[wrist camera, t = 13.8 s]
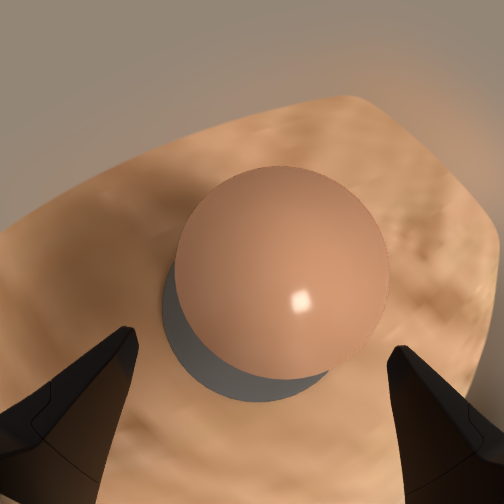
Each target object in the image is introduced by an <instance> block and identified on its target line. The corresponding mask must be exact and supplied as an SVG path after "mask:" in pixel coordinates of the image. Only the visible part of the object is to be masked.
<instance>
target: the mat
mask: <svg viewBox="0 0 504 504" xmlns="http://www.w3.org/2000/svg"><path fill="white" fill-rule="evenodd" d="M162 315H163V323H164V328H165V332H166V335H167V339H168V341H169V343H170V346H171V348H172V350H173V352H174V354H175V355H176V357H177V359H178V360H179V362H180V363H181V364H182V366H183V367H184V368H185V369H186V371H187V372H188V373H189V374H190V375H191V376H193V377H194V378H195V379H196V380H197V381H198V382H200V383H201V384H202V385H204V386H205V387H207V388H208V389H210V390H212V391H214V392H216V393H218V394H220V395H223V396H226V397H228V398H231V399H236V400H240V401H247V402H270V401H275V400H280V399H284V398H287V397H290V396H293V395H296V394H298V393H300V392H302V391H304V390H306V389H307V388H309V387H310V386H312V385H313V384H315V383H316V382H317V381H319V380H320V379H321V378H322V377H323V376H324V375H325V374H326V373H327V372H328V371H329V370H328V371H325V372H323V373H320V374H318V375H314V376H310V377H305V378H299V379H288V380H285V379H270V378H265V377H259V376H255V375H252V374H249V373H247V372H244V371H241V370H239V369H237V368H235V367H233V366H231V365H229V364H228V363H226V362H225V361H223V360H222V359H220V358H219V357H218V356H216V355H215V354H214V353H213V352H212V351H211V350H210V349H208V348H207V347H206V346H205V345H204V344H203V343H202V341H201V340H200V339H199V338H198V336H197V335H196V334H195V333H194V331H193V329H192V328H191V326H190V324H189V323H188V321H187V319H186V317H185V315H184V312H183V310H182V308H181V305H180V302H179V298H178V294H177V290H176V282H175V261H174V263H173V265H172V267H171V269H170V272H169V274H168V276H167V280H166V283H165V287H164V293H163V300H162Z"/></svg>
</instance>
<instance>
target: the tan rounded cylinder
mask: <svg viewBox="0 0 504 504" xmlns="http://www.w3.org/2000/svg"><path fill="white" fill-rule="evenodd" d="M175 282H176V290H177V294H178V298H179V302H180V305H181V308H182V310H183V312H184V315H185V317H186V319H187V321H188V323H189V324H190V326H191V328H192V329H193V331H194V333H195V334H196V335H197V336H198V338H199V339H200V340H201V341H202V343H203V344H204V345H205V346H206V347H207V348H208V349H210V350H211V351H212V352H213V353H214V354H215V355H216V356H218V357H219V358H220V359H222V360H223V361H225V362H226V363H228V364H229V365H231V366H233V367H235V368H237V369H239V370H241V371H244V372H247V373H249V374H252V375H255V376H259V377H265V378H270V379H285V380H288V379H299V378H305V377H310V376H314V375H318V374H320V373H323V372H325V371H328V370H330V369H332V368H334V367H336V366H338V365H339V364H341V363H343V362H344V361H346V360H347V359H348V358H350V357H351V356H352V355H353V354H355V353H356V352H357V351H358V350H359V349H360V348H361V347H362V346H363V345H364V344H365V343H366V341H367V340H368V339H369V337H370V336H371V334H372V333H373V332H374V330H375V328H376V326H377V325H378V323H379V321H380V319H381V316H382V314H383V311H384V309H385V306H386V302H387V298H388V293H389V285H390V265H389V258H388V252H387V249H386V245H385V241H384V239H383V236H382V234H381V231H380V229H379V227H378V225H377V223H376V222H375V220H374V218H373V217H372V215H371V214H370V212H369V211H368V210H367V208H366V207H365V206H364V205H363V204H362V203H361V201H360V200H359V199H358V198H357V197H356V196H355V195H353V194H352V193H351V192H350V191H349V190H347V189H346V188H345V187H343V186H342V185H340V184H339V183H337V182H336V181H334V180H332V179H330V178H328V177H326V176H324V175H321V174H319V173H316V172H313V171H310V170H306V169H302V168H296V167H287V166H272V167H264V168H258V169H254V170H250V171H247V172H244V173H241V174H239V175H236V176H234V177H232V178H230V179H228V180H227V181H225V182H223V183H222V184H220V185H219V186H217V187H216V188H215V189H213V190H212V191H211V192H210V193H209V194H208V195H207V196H206V197H204V198H203V199H202V201H201V202H200V203H199V204H198V205H197V207H196V208H195V209H194V211H193V212H192V214H191V215H190V217H189V219H188V220H187V222H186V224H185V226H184V229H183V231H182V233H181V236H180V239H179V243H178V246H177V251H176V258H175Z"/></svg>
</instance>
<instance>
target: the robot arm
mask: <svg viewBox="0 0 504 504" xmlns="http://www.w3.org/2000/svg"><path fill="white" fill-rule="evenodd" d="M138 350H139V344H138V340H137V336H136V333H135V330H134V328H132V327H127V326H122V327H120V328H119V329H118V330H116V331H115V332H113V333H112V334H111V335H109V336H108V337H107V338H105V339H104V340H103V341H101V342H100V343H99V344H97V345H96V346H95V347H93V348H92V349H91V350H89V351H88V352H87V353H85V354H84V355H83V356H81V357H80V358H79V359H78V360H76V361H75V362H74V363H72V364H71V365H70V366H68V367H67V368H66V369H64V370H63V371H62V372H60V373H59V374H58V375H57V376H55V377H54V378H53V379H51V381H49V382H47V383H46V384H45V385H43V386H42V387H41V388H39V389H38V390H37V391H35V392H34V393H32V394H31V395H29V396H28V397H26V398H25V399H23V400H22V401H20V402H18V403H17V404H15V405H14V406H12V407H10V408H9V409H7V410H5V411H4V412H2V413H1V414H0V504H95V503H96V499H97V495H98V491H99V487H100V485H99V484H100V482H101V479H102V475H103V471H104V468H105V464H106V461H107V457H108V454H109V450H110V447H111V444H112V440H113V437H114V434H115V431H116V427H117V424H118V421H119V418H120V415H121V412H122V409H123V406H124V403H125V400H126V397H127V394H128V391H129V388H130V384H131V380H132V376H133V371H134V367H135V363H136V358H137V354H138ZM387 373H388V382H389V391H390V400H391V406H392V412H393V417H394V422H395V428H396V433H397V439H398V446H399V452H400V459H401V466H402V474H403V483H404V493H405V504H504V432H502V431H501V430H500V429H499V428H497V427H496V426H495V425H494V424H492V423H491V422H490V421H489V420H488V419H486V418H485V417H484V416H483V415H482V414H481V413H479V412H478V411H477V410H476V409H475V408H474V407H473V406H472V405H471V404H470V403H468V401H467V400H466V399H465V398H464V397H462V396H461V395H460V394H459V393H458V392H457V391H456V390H455V389H454V388H453V387H452V386H451V385H450V384H449V383H448V382H446V381H445V380H444V379H443V378H442V377H441V376H440V375H439V374H438V373H437V372H436V371H435V370H433V369H432V368H431V367H430V366H429V365H428V364H427V363H426V362H425V361H424V360H423V359H421V358H420V357H419V356H418V355H417V354H416V353H415V352H414V351H413V350H411V349H410V348H409V347H408V346H406V345H400V346H396V347H395V348H394V350H393V352H392V354H391V355H390V357H389V359H388V361H387Z"/></svg>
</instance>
